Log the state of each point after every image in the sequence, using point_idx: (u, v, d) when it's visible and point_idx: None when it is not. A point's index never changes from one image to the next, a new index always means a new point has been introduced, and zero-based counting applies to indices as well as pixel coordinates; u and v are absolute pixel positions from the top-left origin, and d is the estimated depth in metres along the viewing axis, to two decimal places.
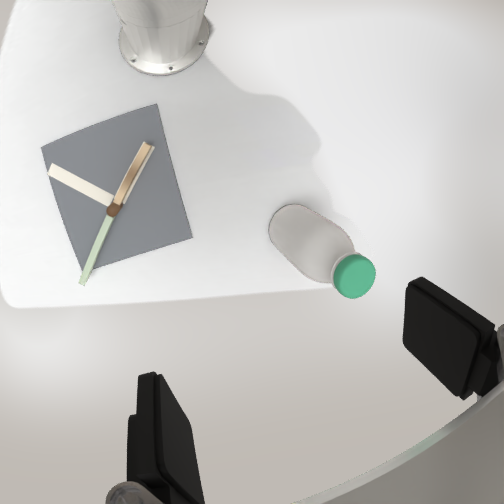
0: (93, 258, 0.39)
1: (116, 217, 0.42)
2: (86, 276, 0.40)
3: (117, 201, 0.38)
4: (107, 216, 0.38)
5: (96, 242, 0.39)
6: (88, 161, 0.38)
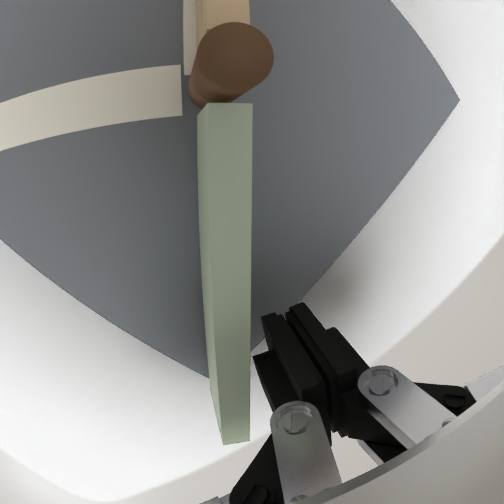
0: (241, 350, 0.09)
1: None
2: (243, 417, 0.10)
3: (230, 16, 0.06)
4: (216, 109, 0.06)
5: (221, 277, 0.08)
6: (26, 32, 0.07)
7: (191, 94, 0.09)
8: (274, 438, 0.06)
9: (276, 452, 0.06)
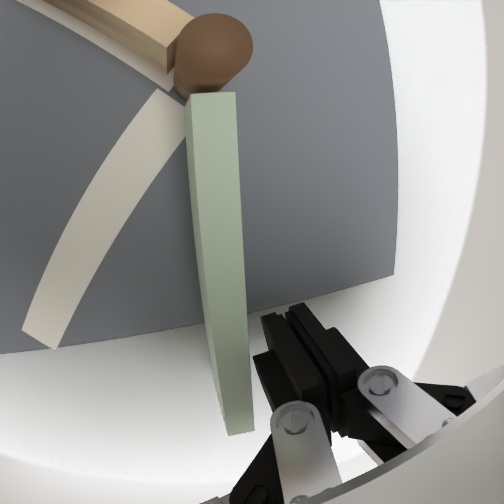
0: (239, 338, 0.09)
1: (249, 96, 0.10)
2: (246, 406, 0.10)
3: (170, 24, 0.06)
4: (199, 99, 0.06)
5: (214, 265, 0.08)
6: (12, 191, 0.09)
7: None
8: (274, 438, 0.06)
9: (276, 452, 0.06)
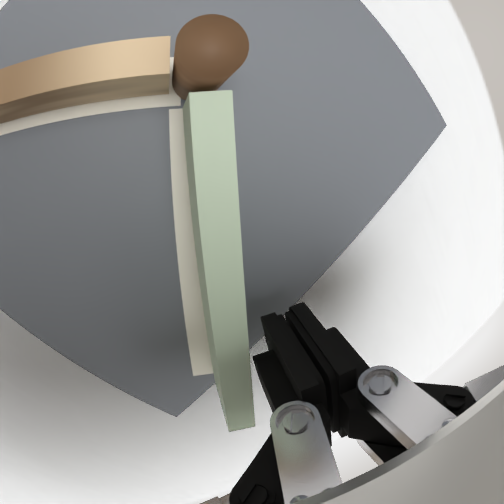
0: (239, 332, 0.09)
1: (245, 62, 0.10)
2: (246, 401, 0.10)
3: (155, 53, 0.06)
4: (197, 98, 0.06)
5: (213, 260, 0.08)
6: (111, 277, 0.11)
7: None
8: (274, 438, 0.06)
9: (276, 452, 0.06)
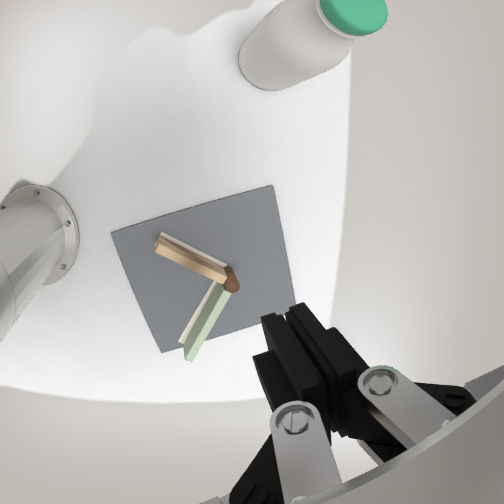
0: (205, 335, 0.37)
1: (241, 273, 0.40)
2: (195, 352, 0.38)
3: (222, 279, 0.36)
4: (225, 291, 0.36)
5: (210, 318, 0.37)
6: (176, 304, 0.39)
7: None
8: (274, 438, 0.06)
9: (276, 452, 0.06)
